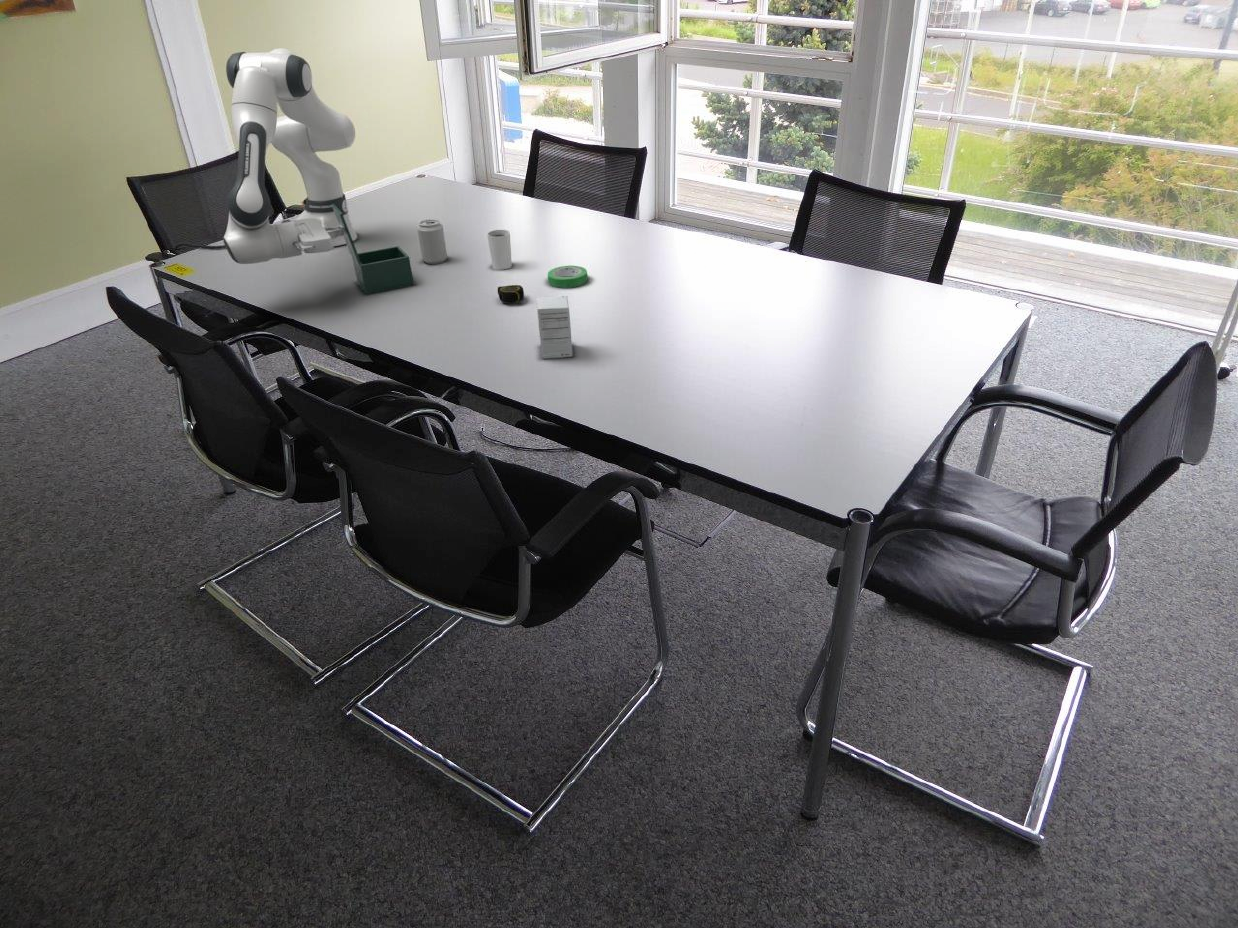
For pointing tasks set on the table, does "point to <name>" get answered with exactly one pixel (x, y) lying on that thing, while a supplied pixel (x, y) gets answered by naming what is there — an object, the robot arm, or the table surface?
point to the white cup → (500, 249)
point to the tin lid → (346, 234)
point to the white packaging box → (554, 326)
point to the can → (432, 241)
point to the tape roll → (560, 281)
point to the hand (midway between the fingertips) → (342, 230)
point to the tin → (383, 270)
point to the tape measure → (511, 293)
